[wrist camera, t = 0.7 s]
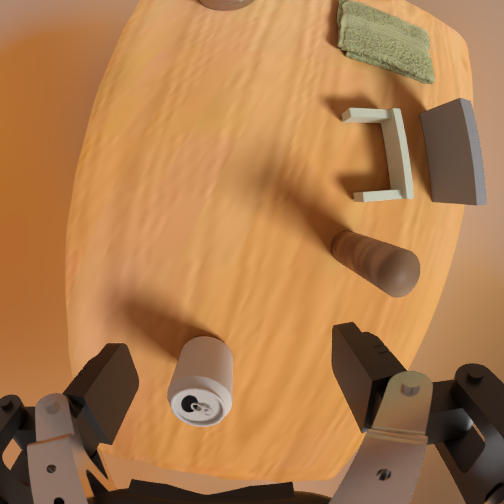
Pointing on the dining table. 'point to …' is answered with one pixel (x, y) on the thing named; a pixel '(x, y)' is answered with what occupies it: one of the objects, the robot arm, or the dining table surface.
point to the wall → (454, 154)
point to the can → (202, 382)
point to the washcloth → (384, 41)
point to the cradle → (387, 152)
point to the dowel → (378, 262)
